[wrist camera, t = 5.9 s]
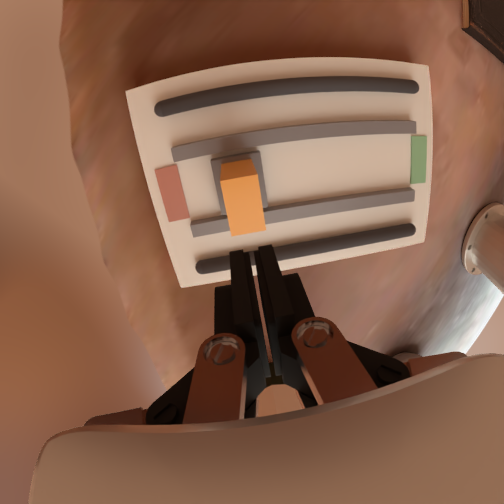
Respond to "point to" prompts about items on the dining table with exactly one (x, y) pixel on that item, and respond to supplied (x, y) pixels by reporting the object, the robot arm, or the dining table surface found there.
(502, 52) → the hardcover book
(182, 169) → the slider track board
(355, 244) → the dressed cords
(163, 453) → the robot arm
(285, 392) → the wine bottle
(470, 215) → the dining table surface
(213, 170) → the handle
